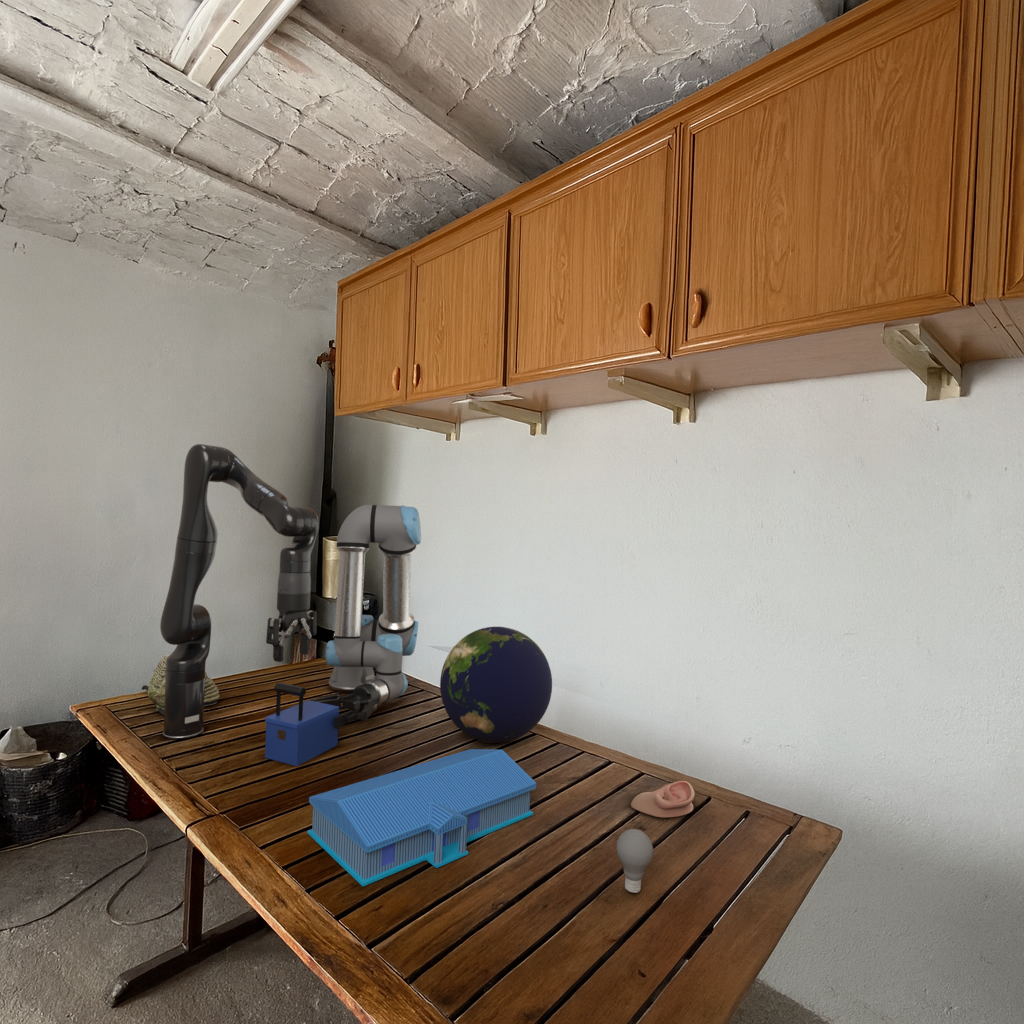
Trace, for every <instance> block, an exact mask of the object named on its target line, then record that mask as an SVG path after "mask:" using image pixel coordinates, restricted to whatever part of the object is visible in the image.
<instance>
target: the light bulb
mask: <svg viewBox="0 0 1024 1024" xmlns="http://www.w3.org/2000/svg"><path fill="white" fill-rule="evenodd" d="M615 849H616V854H617V857H618V859H619V861H620V863H621V865H622V867H623V873H624V874H623V875H624V876H625V878H624V888H625V890H627V891H628V892H630V893H634V894H635V893H639V892H640V891H641V889H642V887H641V886H642V879H643V877H644V875H645V871H646V868H647V867H648V866H649V864H650V863H651V861H652V859H653V855H654V847H653V843H652V841H651V838H649V836H648V835H647V834H646V833H645V832H643V831H642V830H641V829H636V828H629V829H627V830H625V831H623V832H622V833H621V834H620V835H619V837H618V839H617V841H616V847H615Z"/></svg>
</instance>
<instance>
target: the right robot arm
mask: <svg viewBox="0 0 1024 1024" xmlns="http://www.w3.org/2000/svg"><path fill="white" fill-rule="evenodd" d="M420 519H421V518H420V512H419V510H418V508H416V507H414V506H406V505H403V504H402V505H383V504H371V503H370V504H363V505H361V506H359V507H357V508H354V509H353V510H352V511H351V512H350V513H349V514H348V516H347V517H346V518H344V521H343V522H342V524H341V526H340V528H339V531H338V533H337V538H336V546H335V547H336V548H335V549H337V550H338V552H339V556H338V557H339V559H338V571H337V589H336V590H337V591H336V608H335V622H334V623H335V625H334V638H333V640H329V641H328V642H327V644H326V647H325V648H326V649H325V662H326V665H327V666H329V667H333V668H332V672H331V675H330V677H329V679H328V688H329V689H330V690H332V691H334V692H336V693H333V694H329V695H326V696H322V697H317V698H312V699H309V700H310V701H315V702H319V703H324V704H329V705H334V706H338V707H339V711H343V710H348V711H346V712H343V713H341V714H339V716H337V717H335V718H334V728H335V729H337V728H338V729H339V728H341V727H344V726H345V725H347V724H349V723H352V722H358V721H359V720H360V721H361V722H366V721H367V720H368V719H369V717H370V716H371V715H372V714H373V713H374V712H376V711H378V707H379V706H382V705H384V704H386V703H388V702H391V701H394V700H396V699H398V698H400V697H401V696H402V695H403V694H404V693H406V691H407V689H408V685H409V681H408V679H407V675H406V674H404V673H403V672H402V671H403V670H402V669H403V657H408V656H409V657H410V656H412V655H413V654H414V652H415V649H416V644H417V640H418V639H417V638H418V631H419V622H418V621H417V620H415V617H414V615H413V614H412V613H411V577H412V574H411V573H412V553H414V551H416V549H417V546H418V545H421V542H422V533H421V532H422V531H421V529H422V528H421V520H420ZM370 543H373V544H378V549H379V551H380V552H381V553H383V565H382V567H383V573H382V575H383V580H382V581H383V582H382V584H383V588H382V589H383V590H382V592H383V595H382V600H383V605H382V606H383V607H382V613H381V614H380V615H379V617H378V619H374V617H373V615H371V614H363V600H364V583H365V564H366V554H367V552H368V551H369V550H370ZM375 674H376V675H375ZM341 693H345V695H341ZM346 693H348V694H346Z"/></svg>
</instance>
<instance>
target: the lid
mask: <svg viewBox="0 0 1024 1024" xmlns="http://www.w3.org/2000/svg"><path fill="white" fill-rule="evenodd" d="M273 689H274V690H273V691H275V692H276V703H275V705H276V706H275V713H272V714H270V715H268V716H265V717H264V722H265V723H266V722H269V723H273V724H278V725H282V726H286V727H290V728H295V729H298V728H300V727H303V726H305V725H307V724H309V723H312V722H314V721H316V720H319V719H321V718H323V717H325V716H328V715H330V714H332V713H334V712H337V711H339V712H340V710H339V707H338V706H334V705H329V704H324V703H319V702H315V701H310V700H311V699H308V700H305V701H304V696H306V693H307V688H306V687H304V686H299V685H294V684H288V683H284V682H276V683H275V685H274V688H273ZM282 694H285V695H290V696H295V697H298V704H295V705H293V706H289V707H288V708H286V709H283V710H281V705H282V704H281V702H282V700H281V699H282Z"/></svg>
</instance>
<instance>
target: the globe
mask: <svg viewBox="0 0 1024 1024" xmlns="http://www.w3.org/2000/svg"><path fill="white" fill-rule="evenodd" d="M551 670H552V669H551V667H550V664H549V660H548V659H547V656H546V655H545V652H544V651H543V650H542V648H541V647H540V646H539V645H538V644H537V643H536V642H535V641H534V640H533V639H532V638H531V637H530V636H528V635H526V634H525V633H523V632H522V631H519V630H517V629H514V628H510V627H508V626H507V627H506V626H500V625H499V626H487V627H482V628H479V629H477V630H474V631H472V632H470V633H469V634H466V635H465V636H464V637H462V638H461V639H460V640H459V641H458V642H457V643H456V644H455V645H454V646H452V648H451V650H450V651H449V653H448V654H447V656H446V658H445V661H444V662H443V666H442V669H441V671H440V672H441V673H440V680H439V691H440V698H441V701H442V705H443V707H444V710H445V712H446V714H447V715H448V717H449V719H450V720H451V722H452V723H453V724H454V725H455V726H456V728H458V729H459V730H460V731H461V732H463V733H464V734H465V735H467V736H469V737H470V738H472V739H475V740H477V741H480V742H484V743H488V744H489V743H490V744H499V743H500V744H501V743H506V742H507V743H508V742H511V741H515V740H517V739H519V738H521V737H523V736H525V735H527V734H528V733H529V732H531V730H533V729H534V728H535V727H536V726H538V724H539V723H540V721H541V720H542V718H543V717H544V716H545V713H546V712H547V710H548V708H549V705H550V702H551V699H552V698H551V697H552V693H553V677H552V671H551Z"/></svg>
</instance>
